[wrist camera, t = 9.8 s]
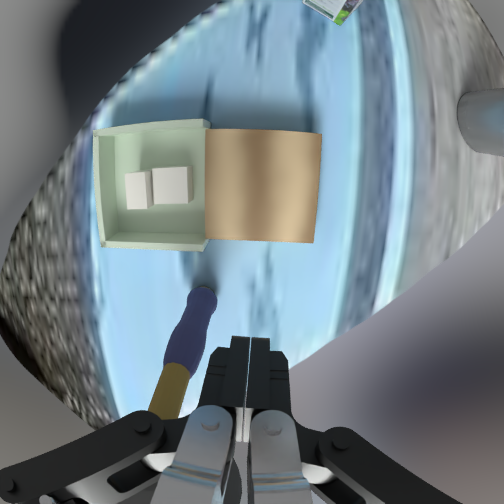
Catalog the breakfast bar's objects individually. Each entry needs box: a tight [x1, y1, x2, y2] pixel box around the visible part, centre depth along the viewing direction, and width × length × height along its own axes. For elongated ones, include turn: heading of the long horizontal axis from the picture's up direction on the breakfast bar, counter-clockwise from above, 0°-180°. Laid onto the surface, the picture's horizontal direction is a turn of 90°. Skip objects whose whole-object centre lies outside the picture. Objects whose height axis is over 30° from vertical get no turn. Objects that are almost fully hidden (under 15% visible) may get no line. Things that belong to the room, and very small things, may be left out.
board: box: [205, 129, 322, 243], centre depth 30 cm, size 12×12×3 cm
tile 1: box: [152, 165, 193, 204], centre depth 30 cm, size 4×4×2 cm
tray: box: [93, 119, 211, 252], centre depth 29 cm, size 13×14×4 cm
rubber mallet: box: [117, 286, 242, 504], centre depth 23 cm, size 12×8×30 cm, turn 124°
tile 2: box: [125, 169, 155, 210], centre depth 29 cm, size 4×4×2 cm
